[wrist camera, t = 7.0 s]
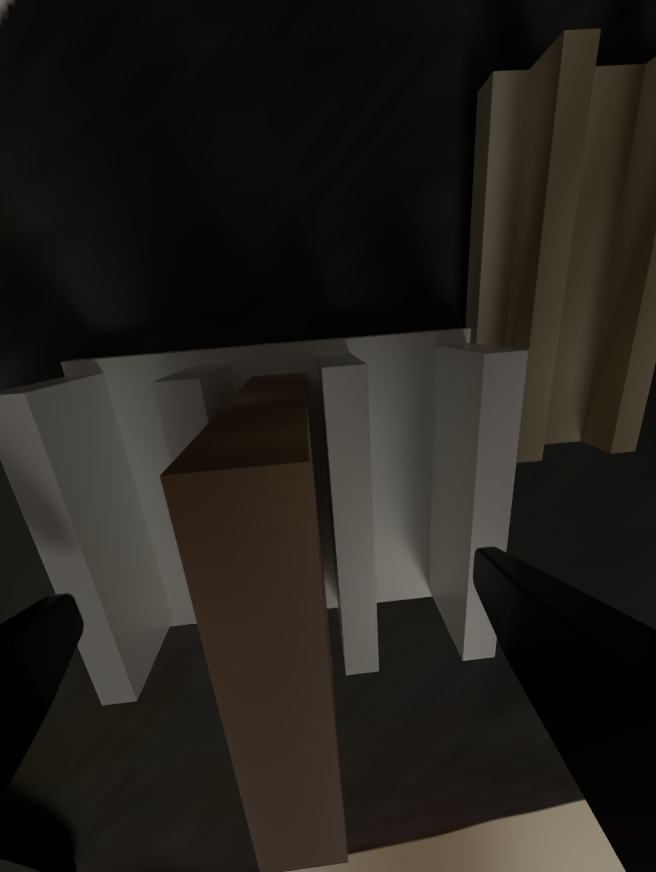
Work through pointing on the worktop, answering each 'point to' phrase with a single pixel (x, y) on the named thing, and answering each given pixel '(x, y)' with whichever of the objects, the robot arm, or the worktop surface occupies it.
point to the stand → (568, 241)
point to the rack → (333, 466)
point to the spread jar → (32, 849)
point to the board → (265, 615)
